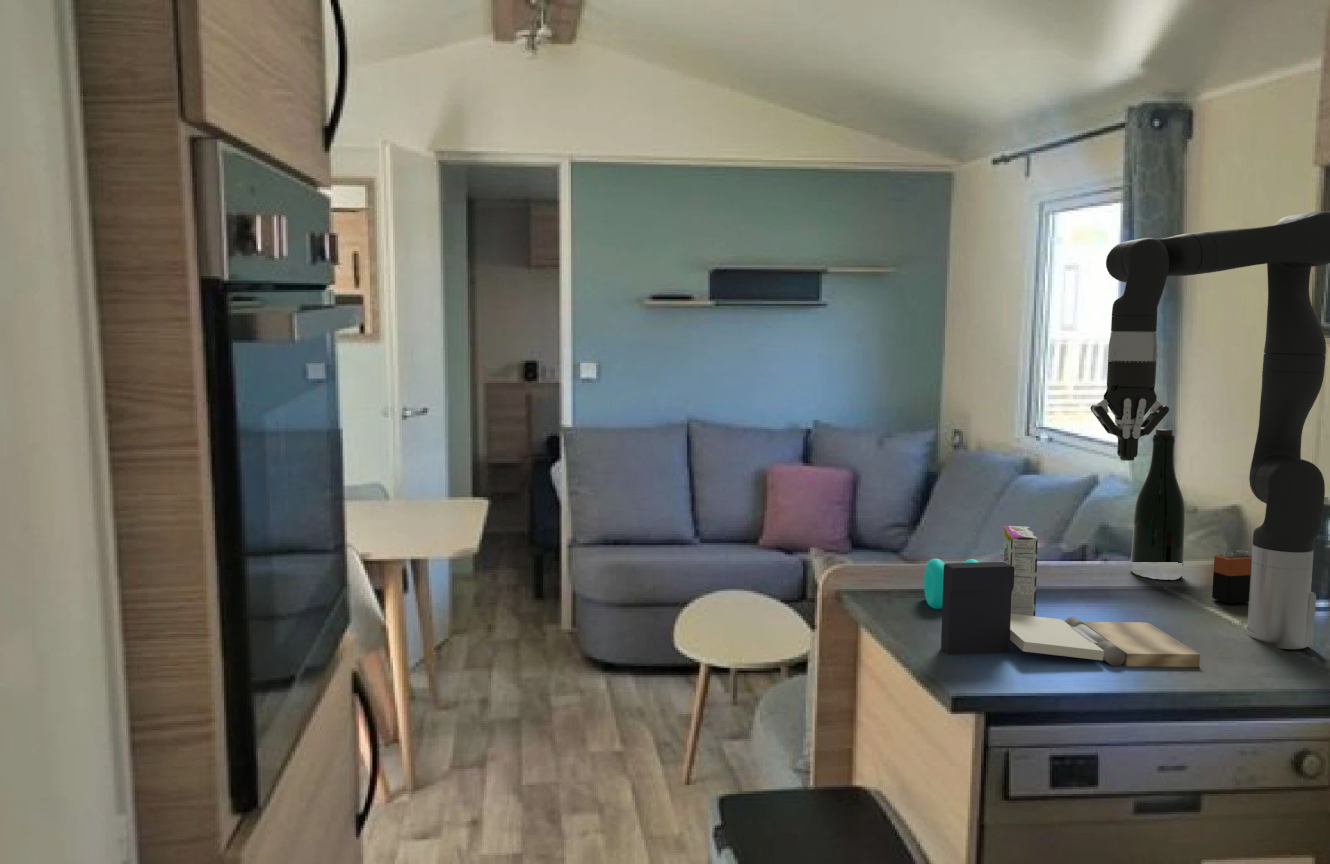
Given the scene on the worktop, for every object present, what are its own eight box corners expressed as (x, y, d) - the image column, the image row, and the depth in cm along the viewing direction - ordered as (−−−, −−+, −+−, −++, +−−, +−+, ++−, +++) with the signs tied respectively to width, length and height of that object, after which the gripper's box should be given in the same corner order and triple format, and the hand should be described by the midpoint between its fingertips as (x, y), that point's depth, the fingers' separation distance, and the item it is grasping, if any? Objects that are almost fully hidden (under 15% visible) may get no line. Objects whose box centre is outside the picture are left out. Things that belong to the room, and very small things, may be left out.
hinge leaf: (1078, 633, 180) (1080, 618, 180) (1123, 666, 163) (1125, 649, 162) (987, 622, 180) (990, 607, 180) (1022, 654, 163) (1024, 637, 162)
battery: (1255, 602, 203) (1258, 553, 202) (1227, 604, 201) (1230, 554, 200) (1238, 596, 207) (1241, 548, 206) (1210, 598, 205) (1213, 550, 204)
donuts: (986, 617, 190) (989, 565, 190) (933, 616, 191) (935, 564, 190) (972, 603, 200) (974, 554, 199) (921, 602, 201) (923, 553, 200)
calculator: (999, 646, 173) (1002, 560, 171) (1011, 654, 168) (1015, 566, 167) (938, 648, 171) (941, 562, 170) (949, 656, 167) (952, 568, 165)
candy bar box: (999, 607, 197) (1003, 525, 196) (1026, 608, 196) (1030, 526, 195) (1007, 623, 187) (1010, 536, 185) (1035, 625, 186) (1039, 537, 184)
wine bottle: (1144, 582, 219) (1152, 431, 215) (1121, 570, 229) (1129, 426, 226) (1192, 582, 219) (1201, 431, 216) (1167, 570, 229) (1175, 426, 226)
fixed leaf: (1147, 633, 180) (1148, 617, 180) (1199, 666, 162) (1200, 648, 162) (1063, 633, 180) (1064, 616, 180) (1106, 665, 163) (1107, 647, 162)
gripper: (1160, 358, 174) (1155, 457, 176) (1084, 357, 174) (1079, 457, 176) (1182, 359, 167) (1176, 463, 169) (1102, 359, 167) (1097, 462, 169)
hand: (1126, 459), depth 172 cm, fingers closed
